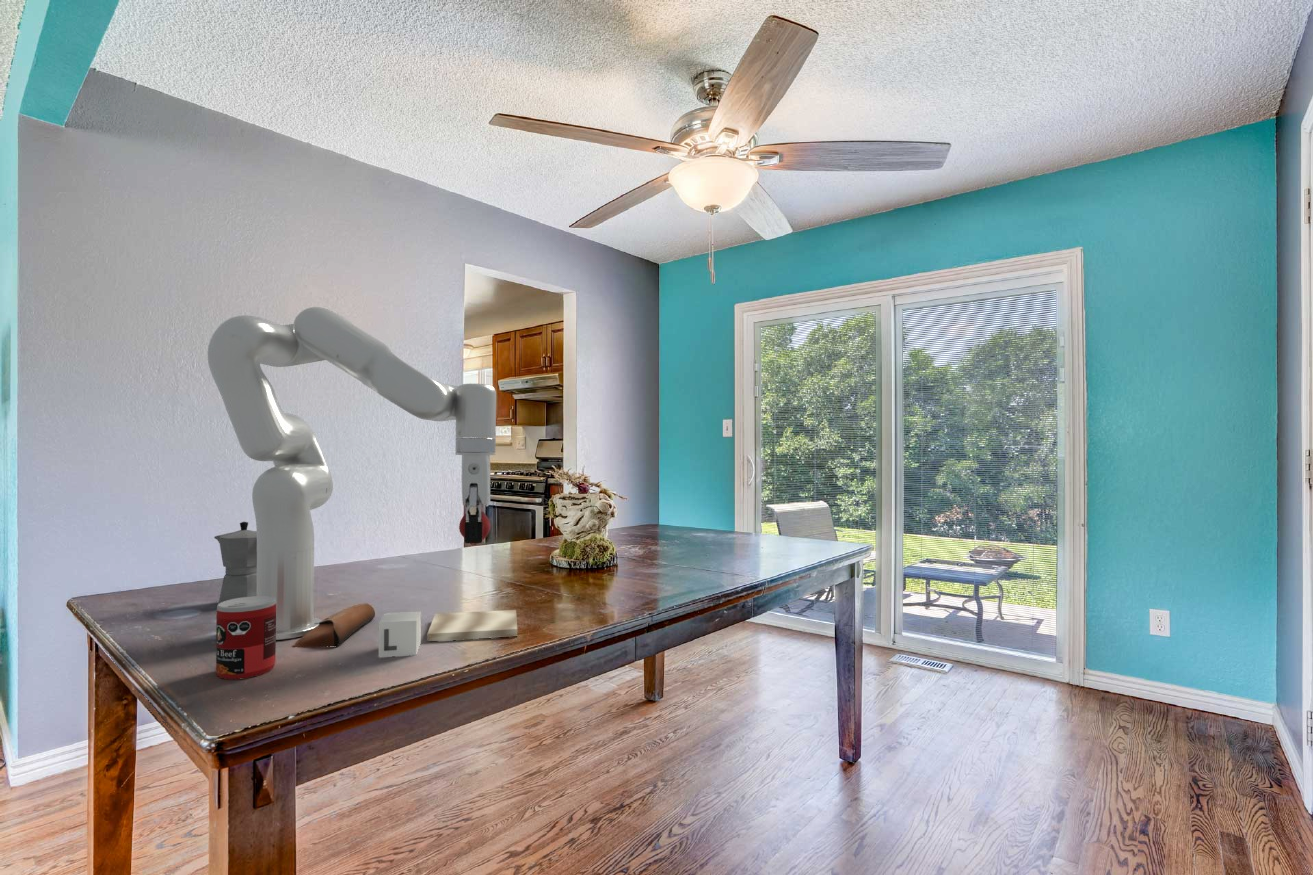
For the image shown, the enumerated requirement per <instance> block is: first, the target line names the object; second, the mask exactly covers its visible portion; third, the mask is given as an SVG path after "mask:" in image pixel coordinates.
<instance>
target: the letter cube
mask: <svg viewBox="0 0 1313 875" xmlns="http://www.w3.org/2000/svg"><path fill="white" fill-rule="evenodd" d="M421 620H422V611H402V612H385V613H384V615H383V616H382V617H381V619H380V621H379V622H378V658H393V657H392V656H395V657H407V656H408V657H409V655H410V657H411V656H417V655H418V652H419V650H418V649H420V647H421V645H420V644H421V643H422V642H421V641H422V640H421V639H422V638H421V637H422V636H421V634H422V633H421V629H422V628H421V627H422V621H421ZM419 646H420V647H419ZM416 654H417V655H416Z"/></svg>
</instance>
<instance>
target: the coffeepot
mask: <svg viewBox="0 0 1313 875" xmlns="http://www.w3.org/2000/svg"><path fill="white" fill-rule="evenodd" d="M239 526H240V530H237V531H233V532H227V533H223V534H219V535H215V536H214V537H213V538H214V539H215V540H216V541H217V542H218V544H219V548H220V549H219V550H220V555H221V560H222V566H223V567H224V568H225V574H224V576H223V579H222V585H221V589H220V594H219V598H218V604H219V603H221V602H224V601H227V600H231V599H236V598H242V597H252V596H256V592H257V530H250V529H248V526H249V522H248V521H242V522H240V523H239ZM218 604H217V605H218Z"/></svg>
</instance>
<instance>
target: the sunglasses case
mask: <svg viewBox="0 0 1313 875" xmlns="http://www.w3.org/2000/svg"><path fill="white" fill-rule="evenodd" d="M375 617H376V612H375V609H374V607H373V606H372V605H371V604H369V603H365V602H364V603H360V604H354V605H351V606H349V607H346V608H344V609H342V610H339V611H338V612H336V613H334V614H332V615H330V616H328V617H326V618H324V619H323V620H322V621H321V622H319V625H318V626H317V627H315V628H314V629H312V630H311V631H309V632H308V633H307V634H305V635H304V636H301V637H300V638H299V639H298V640H297V641H296V642H295V643H294V644H293V646H292V648H293V647H294V648H295V647H297V648H331V647H330V646H336V647H335V648H337V647H338V646H339V645H342V644H343V643H344V642H345V641H346V640H347V639H348V638H349V637H350V636H351V635H353V634H354V632H356V631H357V630H359V629H360V628H361V627H362V626H364V625H365V624H367V623H368V622H369V621H372V620H373V619H374V618H375ZM371 619H372V620H371ZM327 646H328V647H327Z"/></svg>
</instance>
